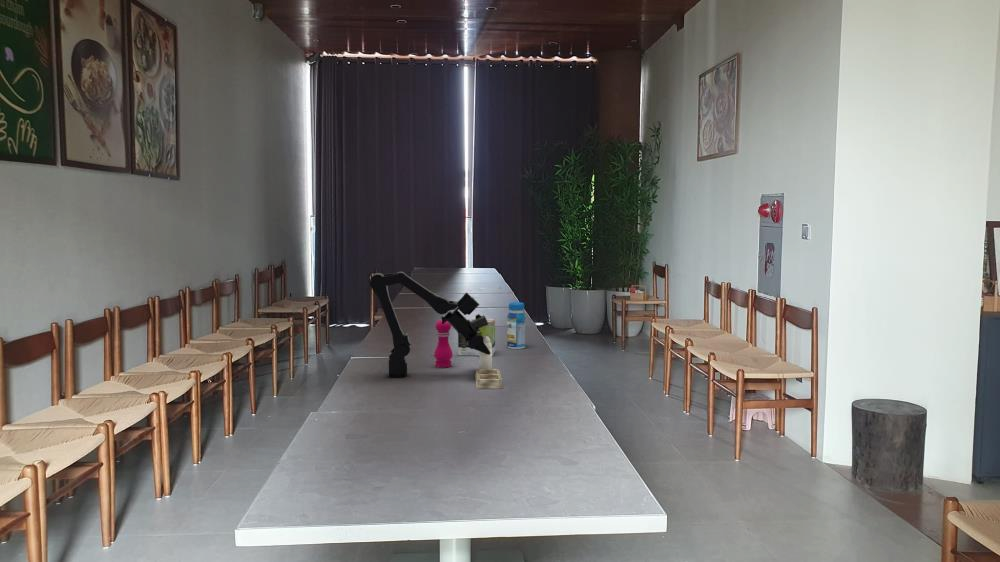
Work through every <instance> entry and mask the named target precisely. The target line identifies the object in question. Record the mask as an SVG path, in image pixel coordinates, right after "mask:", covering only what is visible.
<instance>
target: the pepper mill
mask: <svg viewBox="0 0 1000 562" xmlns="http://www.w3.org/2000/svg"><path fill="white" fill-rule="evenodd" d="M451 328H452V326H451V325H450V324H449V323H448V322H447V321H446V322H445V323H444V324H442V318H441V317H440V320H438V321H436V324H435V329H436V330H437V333H436V336H437V338H438V339H437V340H438V341H437V345H436V347H435V350H434V355H433V357H434V359H436V360H435V367H437V368H448V367H449V368H450V367H451V366H452V360H451V359H452V358H453V351H452V348H451V346H450V342H449V337H450V333H451V332H450V330H451Z"/></svg>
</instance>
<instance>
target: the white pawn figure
mask: <svg viewBox="0 0 1000 562" xmlns="http://www.w3.org/2000/svg"><path fill="white" fill-rule="evenodd" d="M483 342H484V344H485V345H486V347H487V348H488V349H489V351H490V352H491V354H490V355H488V354H485V353H483V352H480V351H479V356H478V357H479V359H478V360H479V361H478V369H493V356H492V344H491V342H490V338H489V337H488V336H484V339H483Z"/></svg>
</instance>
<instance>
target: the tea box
mask: <svg viewBox="0 0 1000 562" xmlns="http://www.w3.org/2000/svg"><path fill="white" fill-rule="evenodd" d="M466 319H467V320H468V319H469V320H470V321H473V320H474V319H475V318H466ZM495 319H496V318H486V320H487V322H488V325H487V326H483V327H481V328H479V329H480V331H478V332H477V333H480V332H481V333H482V336H483V337H484V336H488V337H489V338H490V342H491V344H492V357H493V356H494V354H495V351H496V320H495ZM457 351H458V353H457V354H458V356H478V357H479V351H478V350H475V349H470V348H469V347H468V345H467V341H466V340H465V339H464V338H463V337H462V336H461V335H460V334H458V333H457Z"/></svg>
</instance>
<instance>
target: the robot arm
mask: <svg viewBox="0 0 1000 562" xmlns="http://www.w3.org/2000/svg"><path fill="white" fill-rule="evenodd" d="M396 284H401V285H402V286H404V287H405V288H406V289H408V290H409V291H411V292H413V294H415V295H417V296H418V297H419V298H421V299H423V300H424V301H425V302H426V303H427V305H429V306H430V307H431V308H432V309H433V310H434V311H435V312H436V313H437V314H439V315H441V317H440V319H441V318H442V319H441V320H442V324H444V323H445V322H446V321H447V322H448V323H449V324H450V325H451V328H453V329H454V330H455V331H456V332H457V335H458V334H460V335H461V336H462V337H463V338H464V339H465V340H466V341H467V345H468V347H469V348H470V349H475V350H478V351H480V352H483V353H485V354H488V355H490V354H491V352H490V351H489V349H488V348H487V347H486V345H485V344H484V342H483V339H484V337H483V336H482V333H481V332H480V333H477V332H478V331H480V329H479V328H481V327H483V326H487V325H488V322H487V320H486V319H487V318H486V315H481V314H480V313H478V314H476V315H475V317H474V318H473V319H474V320H473V321H470V320H469V319H470V318H466V317H465V316H467V315H468V316H470V315H471V314H472V313H473V312H474V311H475V310H476V309H478V307H479V306H480V303H479V302H478V301H477V300H476V299H475V298H474V297H473V296H471V295H470V293H468V292H465V293H464V294H463V295H462V296H461V298H459V300H458V301H454V300H449V299H448V298H446V297H444V296H442V295H440V294H437V293H435V292H433V291H431V290H429V289H428V288H426V287H425V286H423V285H422V284H420V283H419V282H417V281H416V280H414V279H413V278H412V277H410V276H409V275H408V274H406V273H405V272H404V271H398V272H393V273H384V274H383V273H381V272H376V273H374V274H373V275H372V276H371V277H370V279H369V285H370V288H371V290H372V291H373V293H374V294H375V296H376V298H378V301H379V303H380V306H381V309H382V311H383V314H384V317H385V319H386V323H387V325H388V327H389V330H390V333H391V336H392V343H393V348H392V349H391V350H390V351H389V354H388V375H387V377H388V378H405V377H406V376H407V375H408V372H409V371H408V370H409V369H408V365H409V363H408V362H407V356H408V355H409V354H410V353H411V352H410V351H411V346H412V341H411V339H410V336H409V332H406V333H404V332H403V331H404V330H402V328H401V325H400V322H399V319H398V316H397V314H396V312H395V309H394V306H393V303H392V300H391V297H390V293H389V286H392V285H396ZM467 319H468V320H467Z"/></svg>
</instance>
